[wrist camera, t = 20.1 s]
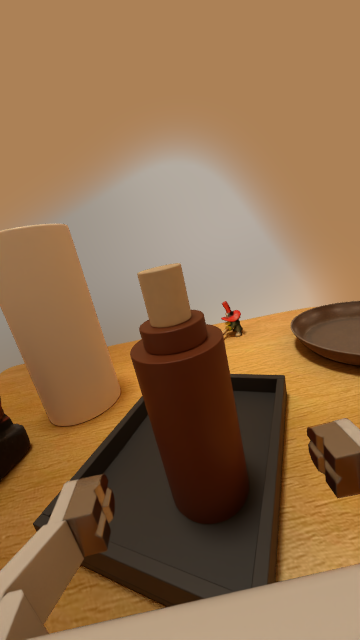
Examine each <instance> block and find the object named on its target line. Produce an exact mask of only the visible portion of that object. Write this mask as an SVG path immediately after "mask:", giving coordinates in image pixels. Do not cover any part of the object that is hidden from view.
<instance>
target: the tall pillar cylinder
mask: <svg viewBox="0 0 360 640" xmlns="http://www.w3.org/2000/svg"><path fill="white" fill-rule="evenodd" d="M0 306H1V309H2V311H3V314H4V315H5V318H6V320H7V323H8V325H9V327H10V330H11V332H12V334H13V337H14V339H15V341H16V344H17V346H18V348H19V350H20V352H21V355H22V358H23V360H24V362H25V364H26V367H27V369H28V371H29V374H30V376H31V378H32V381H33V383H34V385H35V388H36V390H37V392H38V395H39V397H40V399H41V402H42V404H43V406H44V408H45V411H46V413H47V415H48V418H49V420H50V422H51V423H52V424H54V425H57V426H71V425H76V424H79V423H83V422H85V421H88V420H90V419H92V418H94V417H96V416H98V415H100V414H102V413H103V412H105V411H106V410H107V409H109V408H110V407H111V406H112V405H113V404H114V403H115V402H116V401H117V399H118V398H119V396H120V392H121V390H120V386H119V383H118V380H117V377H116V373H115V370H114V367H113V364H112V361H111V358H110V355H109V352H108V349H107V346H106V343H105V340H104V336H103V333H102V330H101V327H100V324H99V321H98V318H97V314H96V311H95V308H94V305H93V302H92V299H91V296H90V293H89V290H88V287H87V283H86V281H85V277H84V274H83V271H82V268H81V265H80V262H79V259H78V256H77V253H76V249H75V246H74V243H73V240H72V237H71V234H70V231H69V228H68V226H67V225H65V224H41V225H31V226H24V227H17V228H12V229H7V230H1V231H0Z"/></svg>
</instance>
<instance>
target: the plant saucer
mask: <svg viewBox="0 0 360 640" xmlns="http://www.w3.org/2000/svg"><path fill="white" fill-rule="evenodd" d="M291 330H292V332H293V333H294V335H295V336H296V337H297V338H298V339H299V340H300V341H301V342H302V343H303V344H304V345H305V346H307V347H308V348H309V349H311V350H312V351H314V352H316V353H318V354H319V355H322V356H324V357H326V358H329V359H332V360H335V361H338V362H342V363H347V364H351V365H358V366H360V301H352V302H344V303H335V304H329V305H325V306H320V307H316V308H313V309H310V310H307V311H305V312H303V313H301V314H299V315H298V316H296V317H295V318H294V319H293V320H292V322H291Z"/></svg>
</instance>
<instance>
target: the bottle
mask: <svg viewBox="0 0 360 640" xmlns="http://www.w3.org/2000/svg"><path fill="white" fill-rule="evenodd" d="M137 275H138V278H139V282H140V286H141V290H142V294H143V298H144V301H145V305H146V309H147V313H148V317H149V320H147V321H146V322H144V323H143V324H142V325H141V326H140V328H139V330H140V334H141V338H142V340H140V341H139V342H138V343H136V344H135V345H134V346H133V348H132V349H131V352H130V355H131V359H132V362H133V365H134V369H135V372H136V375H137V379H138V382H139V385H140V389H141V392H142V395H143V399H144V402H145V406H146V409H147V412H148V416H149V419H150V422H151V426H152V429H153V432H154V436H155V439H156V442H157V446H158V449H159V453H160V456H161V459H162V463H163V466H164V469H165V473H166V476H167V479H168V483H169V486H170V489H171V493H172V496H173V499H174V502H175V504H176V507H177V508H178V509H179V511H180V512H181V513H182V514H183V515H184V516H186V517H187V518H188V519H190V520H192V521H195V522H197V523H202V524H215V523H220V522H223V521H225V520H227V519H229V518H231V517H232V516H234V515H235V514H236V513H237V512H238V511H239V510H240V509H241V508H242V507H243V505H244V503H245V502H246V499H247V497H248V493H249V478H248V472H247V467H246V461H245V456H244V450H243V444H242V439H241V433H240V428H239V422H238V416H237V411H236V405H235V399H234V394H233V388H232V383H231V377H230V371H229V366H228V360H227V355H226V349H225V343H224V338H223V333H222V331H221V330H220V329H219V328H218V327H216V326H213V325H208V324H206V323H205V319H204V314H203V313H202V312H201V311H197V310H190V306H189V301H188V296H187V291H186V287H185V282H184V277H183V272H182V268H181V264H179V263H176V264H169V265H165V266H159V267H155V268H151V269H147V270H144V271H141V272H139V273H138V274H137Z"/></svg>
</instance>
